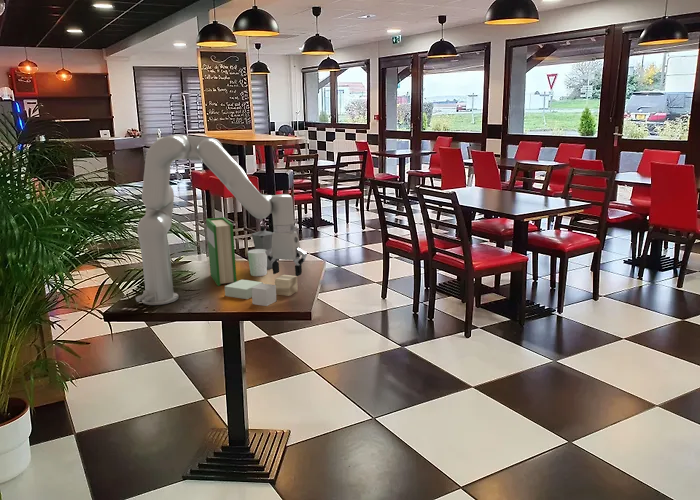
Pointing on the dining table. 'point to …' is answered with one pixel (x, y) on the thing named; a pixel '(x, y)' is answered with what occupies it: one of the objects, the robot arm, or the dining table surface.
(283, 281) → the maple cube
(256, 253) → the white cup
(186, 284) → the dining table surface
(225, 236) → the hardback book
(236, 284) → the base block
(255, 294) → the grey cube
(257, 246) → the coffeepot
